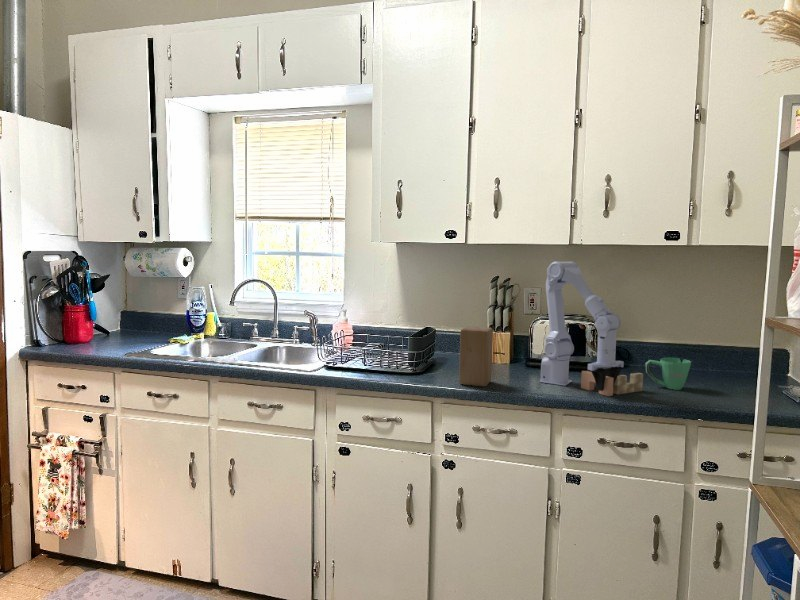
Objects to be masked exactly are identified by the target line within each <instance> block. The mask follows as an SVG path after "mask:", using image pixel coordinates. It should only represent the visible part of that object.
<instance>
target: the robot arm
mask: <svg viewBox="0 0 800 600" xmlns="http://www.w3.org/2000/svg"><path fill="white" fill-rule="evenodd" d="M546 276H547V277H546V280H545V295H546V302H547V303H546V304H547V312H548V314H547V315H548V325H549V333H548V334H547V336H546V337H545V346H544V353H545V356H544V357H542V359H541V363H540V380H539V382H540V383H545V384H551V385H558V386H565V387H566V386H567V385H569V384H570V383H571V382H572V380H571V379H569V371H570V370H569V369H570V367H569V365H570V359H571V355H573V353H574V351H575V345H574V344H573V342H572V338H571V335H570V334H569V333H568V331H567V330H566V320H565V311H564V310H565V309H564V301H563V300H564V299H563V290H562V289H563V288H564V286H565V285H566V284H567V283H568V284H572V285H573V287H574V288H575V289H576V291H577V292H578V293H579V295H580V296H581V297H582V298H583V300H584V301H585V302H584V306H585V308H586V309H587V311H588V312H589V315H591V316H592V318H593V319H594V321H595V322H594V326H595V329H596V330H597V334H596V335H597V352H596V353H597V356H596V357H597V358H596V361H594V362H591V363H587V371H590V372H592V374H593V376H594V379H595V382H596V383H595V385H596V390H597V391H599V390H600V391H603V390H604V382H605V377H606V376H609V377H612V378H614V379H613V386H614V383H615V380H616V378H617V376H618V375H620V373H621V372H622V371H621V368H624V363H625V362H624V361H623V360H616V354H617V353H616V351H617V348H616V347H617V331H618V330H619V328H620V326H621V319H620V317H619V315H618V314H617V313H613V312H612V310H611V309H609V307H608V306H607V305H606V303H605V299H604V298H603V297H602V296H599V295H595V294H594V292H593V291H592V289H591V287H590V286H589V285H588V283H587V281H586V279H585V278H584V276H583V274H582V270H581V268H580V267H579V266H578V264H577V263H576V262H574V261H571V260H570V261H552V262H551V263H550V264H549V266H548V267H546Z"/></svg>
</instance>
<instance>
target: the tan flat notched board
mask: <svg viewBox="0 0 800 600" xmlns="http://www.w3.org/2000/svg"><path fill="white" fill-rule="evenodd" d="M613 379H614V378H612V377H609V376H606V377H605V382H604V390H603V391H600V390H598V394H600V395H603V396H605V397H611V396H613V395H614V393H613ZM580 381H581V382H580V389H583V390H586V391H594V390H595V384H596V382H595V379H594V376H593V374H592V372H591V370H581V379H580Z"/></svg>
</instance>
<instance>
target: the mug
mask: <svg viewBox="0 0 800 600" xmlns="http://www.w3.org/2000/svg"><path fill="white" fill-rule="evenodd" d="M650 364H651V365H656V366H659V367H660V368H661V373H662V374H661V375H662V378H663V381H662V380H660V379H658V378H656V376H654V375H653V373H651V371H650V370H649V366H650ZM691 365H692V361H691V360H689V359H682V361H681V358H677V357H662V358H660V361H658V360H655V359H654V360H653V359H648V361H646V362H645V372H646V374H647V375H648V376H649V377H650V378H651V379H652V380H653V381H654V382H656V384H657V383H658V384H660V385H662V386H664V387H666V388H667V389H668V390H669V389H670V390H672V389H673V390H675V391H680V390H681V391H682V388H683V387H684V385H685V383H686V380H687V379H688V375H689V372H690V368H691Z"/></svg>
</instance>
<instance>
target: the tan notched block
mask: <svg viewBox="0 0 800 600" xmlns="http://www.w3.org/2000/svg"><path fill="white" fill-rule="evenodd" d="M627 381H628V376H627V375H625V374H619V375H618V376H617V378H616V380H615V383H614V386H613V395H614V394H615V395H623V394H629V393H630V394H631V393H636V392H643V384H644V383H643V381H644V373H641V372H633V373H630V374H629V382H627Z"/></svg>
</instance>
